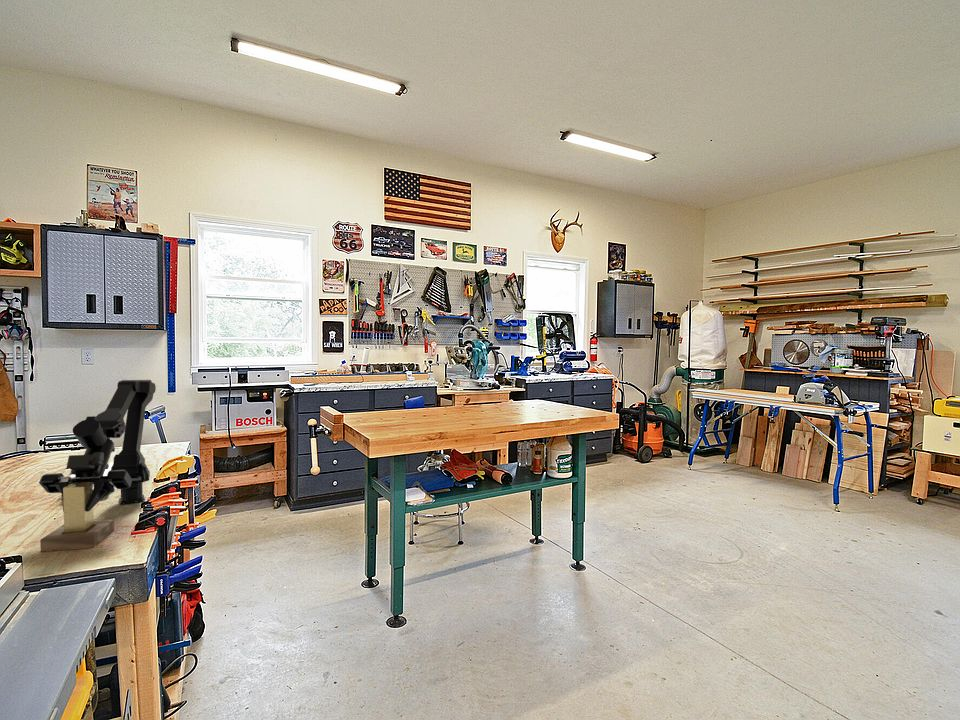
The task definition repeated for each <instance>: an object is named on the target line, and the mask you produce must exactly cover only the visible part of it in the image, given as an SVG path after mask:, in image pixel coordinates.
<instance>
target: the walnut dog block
mask: <svg viewBox="0 0 960 720" xmlns="http://www.w3.org/2000/svg"><path fill="white" fill-rule="evenodd" d="M113 532H115V519H106V520H105V519H103V520H94V527H93V528H92V529H90V530H89V531H88V532H83V533H70V534H64V524H62V525H60V526H59V527H58V528H56V529H55V530H53V531H51V532H50V533H49V534H47V535H45V536H44V537H42V538H41V539H40V541H39V543H40V546H39V547H40V552H41V551H46V552H51V551H50V550H57V551H65V550H64V549H68V550H76V549H77V550H79V549H89V548H95V547H96V546H97V545H99V543H101V542H102V541H103V540H105V539H106V538H108V536H110V535H111V534H112V533H113Z"/></svg>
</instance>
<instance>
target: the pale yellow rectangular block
mask: <svg viewBox="0 0 960 720" xmlns="http://www.w3.org/2000/svg"><path fill="white" fill-rule="evenodd" d="M92 491H93V482H82V483H72V484H70V485H68V486H66V487H64V488H63V501H62V504H63V503H64V512H63V525H64V534H70V533H83V532H88V531H89V530H90V529H92V528H93V527H94V521H95V520H94V516H95V515H94V507H93V508H92V509H91V510H90V511H88V512H87V511H86V506H87V503H88V501H89V498H90V496H91V494H92Z"/></svg>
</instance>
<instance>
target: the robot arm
mask: <svg viewBox="0 0 960 720" xmlns="http://www.w3.org/2000/svg"><path fill="white" fill-rule="evenodd" d="M156 386H157V385H156V383H155V382H153V381H152V380H151V379H122V380H119V381H118V382H117V388H116V390H115V392H114V394H113V396H112V397H111V400H110V401H109V403H108V405H107V407H106V409H105V410H104V411H102V412H100V413H98V414H97V415H96V416H95V415H93V416H90V415H89V416H86V418H85V419H84V420H81V421H79V422H78V423H76V424H75V425H73V428H72V433H73V435H74V436H75V438H76V440H78V443H79V444H80V445H81V446H82V447H83V448H85V451H84V453H83V454H77V455H76V454H73V455H68V458H67V462H66V466H65V467H66V469H67V470H71V471H70V473H71V475H72V474H73V475H76V476H75V477H74V478H71V477H70V476H65V475H64V474H63V473H62V472H54V473H45V474H43V475H42V476H41V477H40V479H39V482H38V484H39V485H40V486H41V487H42V488H43V490H45V491H46V493H48V494H60V493H61V499H62V512H63V513H64V503H63V488H64V487H66V486H68V485H70V484H72V483H82V482H93V484H94V489H93V491H92V494H91V496H90V498H89V501H88V503H87V506H86V511H87V512H88V511H90V510H91V509H92V508H93V509H94V508H95V506H96V505H97V504H98V503H99V502H101V500H103V499H104V498H105V497H106V496H107V495H109V494H110V493H114V492H115V491H114V486H115V487H116V490H120V498H118V501H119V505H120V506H121V505H122V506H123V505H128V504H132V503H133V504H134V503H140V502H145V501H146V498H145V494H143V493H144V490H143V488H144V487H143V484H144V483H146V482H149V481H150V477H151V475H150V474H151V473H150V470H149V468H148V467H147V465H146V458H145V457H144V455H143V453H142V452H141V448H142V447H141V446H142V438H143V431H144V423H145V415H146V407H148V405H150V403H151V402H152V401H153V398H154V394H155V393H156V389H157V388H156ZM125 416H126V420H124V418H125ZM122 436H123V442H122V449H121V451H120V452H119V453H118V454H115V455H114V456H113V461H112V462H113V466H112V467H111V470H110V471H109V472H108V474H107V476H103V475H104V472H105V469H108V467H109V465H110V464H108V463H109V461H110V458H111V454H112V453H113V452H115V451H116V448H115V443H114V442H113V440H112V439H118V438H121V437H122Z"/></svg>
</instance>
